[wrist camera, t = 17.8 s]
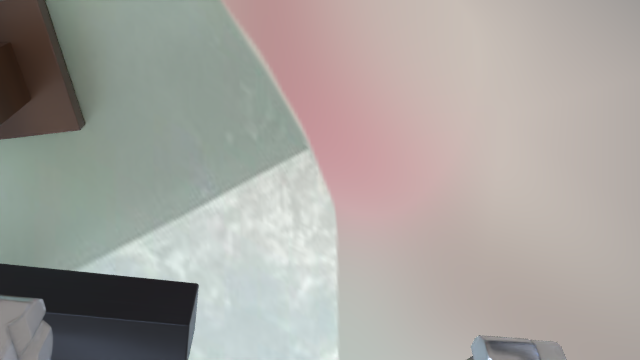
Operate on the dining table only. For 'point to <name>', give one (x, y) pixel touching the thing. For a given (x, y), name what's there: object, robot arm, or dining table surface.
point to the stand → (33, 74)
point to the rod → (109, 313)
